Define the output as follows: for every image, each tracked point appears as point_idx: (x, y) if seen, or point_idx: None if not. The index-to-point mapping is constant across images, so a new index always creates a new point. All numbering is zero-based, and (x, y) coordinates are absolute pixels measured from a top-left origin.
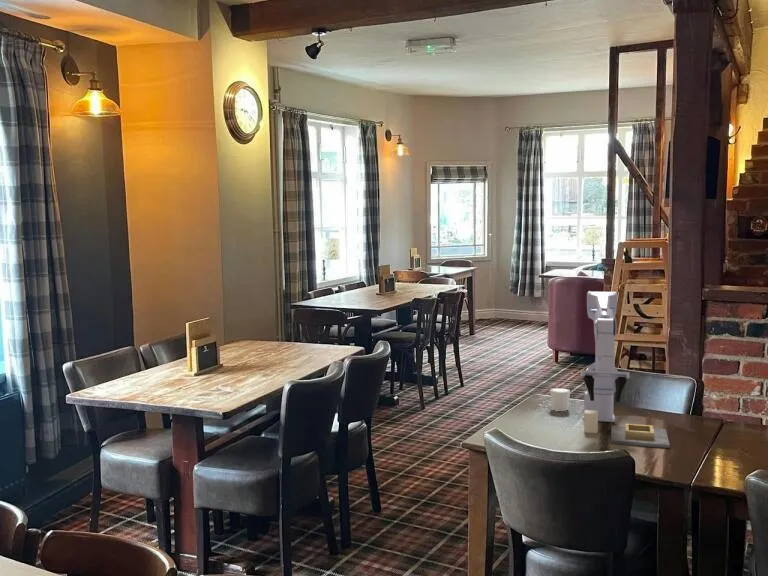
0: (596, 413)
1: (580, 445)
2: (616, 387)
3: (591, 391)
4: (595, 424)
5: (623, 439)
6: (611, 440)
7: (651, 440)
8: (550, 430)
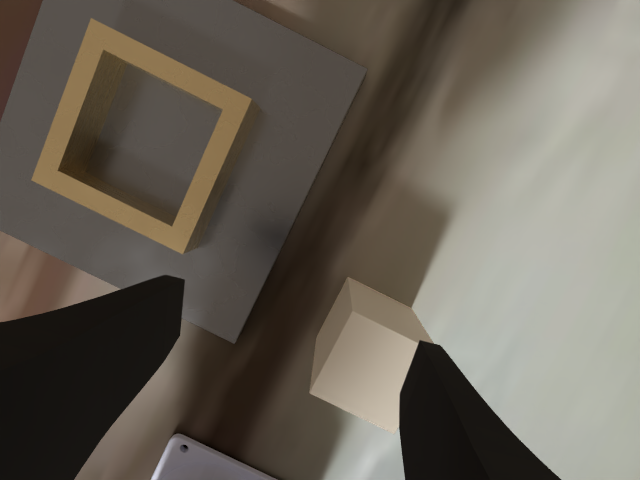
0: (354, 329)
1: (550, 77)
2: (69, 447)
3: (482, 405)
4: (361, 295)
5: (288, 71)
6: (365, 68)
7: (138, 21)
8: (578, 371)
